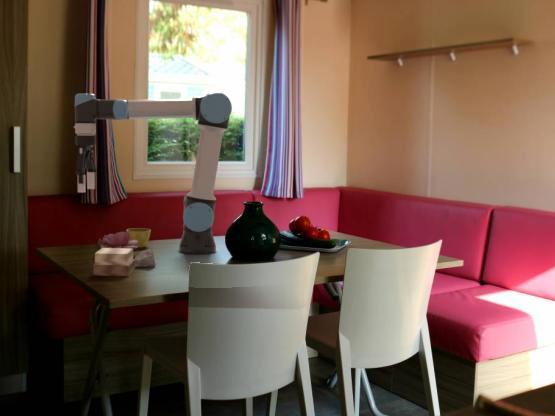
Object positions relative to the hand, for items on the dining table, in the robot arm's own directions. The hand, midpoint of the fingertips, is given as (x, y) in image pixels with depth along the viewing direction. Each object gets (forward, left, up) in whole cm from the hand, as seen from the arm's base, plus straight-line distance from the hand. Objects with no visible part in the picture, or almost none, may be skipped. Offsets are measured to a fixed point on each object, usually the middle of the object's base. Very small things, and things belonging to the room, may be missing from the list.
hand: (86, 190), depth 278 cm
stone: (-25, +14, -26) cm, 39 cm away
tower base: (-16, +27, -26) cm, 41 cm away
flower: (-12, -2, -26) cm, 29 cm away
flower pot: (-16, -25, -26) cm, 39 cm away
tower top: (-16, +27, -22) cm, 39 cm away
